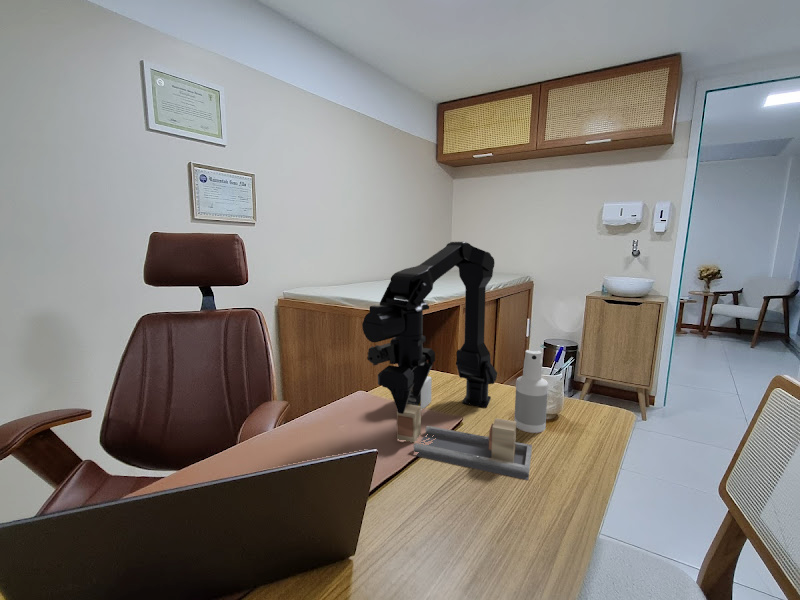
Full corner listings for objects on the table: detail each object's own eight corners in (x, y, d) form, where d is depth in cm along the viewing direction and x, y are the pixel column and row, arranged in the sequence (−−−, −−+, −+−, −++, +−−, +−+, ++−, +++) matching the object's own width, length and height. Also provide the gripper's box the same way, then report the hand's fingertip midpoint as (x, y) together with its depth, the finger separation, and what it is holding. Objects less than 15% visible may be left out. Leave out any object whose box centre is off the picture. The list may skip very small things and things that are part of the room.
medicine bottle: (395, 406, 99) (395, 362, 97) (407, 397, 105) (407, 354, 103) (420, 412, 95) (420, 366, 93) (431, 402, 101) (432, 358, 100)
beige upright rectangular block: (491, 450, 77) (492, 417, 76) (514, 454, 75) (516, 421, 74) (488, 460, 73) (489, 426, 72) (512, 465, 72) (514, 430, 71)
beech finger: (403, 432, 85) (403, 403, 84) (420, 436, 84) (420, 406, 83) (395, 442, 81) (395, 411, 80) (413, 446, 79) (413, 415, 78)
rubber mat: (428, 431, 86) (428, 429, 86) (531, 451, 77) (531, 449, 77) (411, 457, 76) (411, 454, 75) (528, 482, 67) (528, 480, 67)
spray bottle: (515, 432, 85) (518, 354, 82) (513, 419, 92) (516, 346, 89) (547, 436, 83) (552, 357, 81) (543, 422, 90) (547, 348, 87)
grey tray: (426, 432, 84) (426, 425, 84) (531, 451, 76) (531, 445, 76) (413, 451, 77) (413, 444, 76) (528, 476, 68) (529, 468, 68)
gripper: (390, 321, 90) (391, 384, 93) (352, 340, 73) (354, 416, 76) (436, 324, 86) (435, 390, 89) (406, 345, 69) (406, 426, 71)
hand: (408, 404), depth 81 cm, fingers open, 9 cm apart
